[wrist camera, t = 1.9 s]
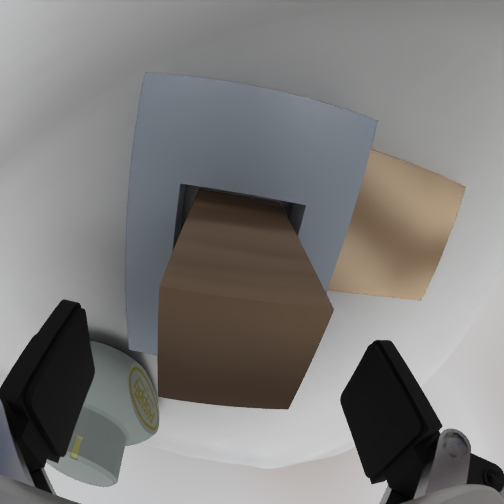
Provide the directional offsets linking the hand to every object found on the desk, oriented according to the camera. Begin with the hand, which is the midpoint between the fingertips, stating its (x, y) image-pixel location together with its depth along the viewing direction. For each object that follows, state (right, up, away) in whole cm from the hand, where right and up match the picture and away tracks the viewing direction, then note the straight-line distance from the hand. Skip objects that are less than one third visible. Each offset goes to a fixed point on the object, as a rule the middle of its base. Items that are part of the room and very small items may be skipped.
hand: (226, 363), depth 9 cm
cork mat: (+10, +5, +9) cm, 14 cm away
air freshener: (-11, -6, +13) cm, 19 cm away
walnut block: (0, +5, +8) cm, 10 cm away
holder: (0, +5, +8) cm, 9 cm away
